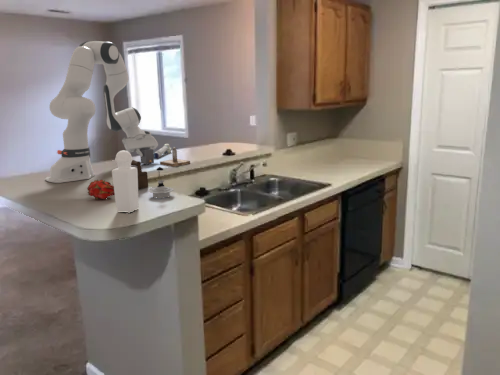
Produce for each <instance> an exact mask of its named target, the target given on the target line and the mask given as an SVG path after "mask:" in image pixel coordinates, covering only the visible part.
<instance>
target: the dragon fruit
mask: <svg viewBox="0 0 500 375" xmlns="http://www.w3.org/2000/svg"><path fill="white" fill-rule="evenodd" d="M87 195H88V196H90V197H94V198H95V200H98V199H101V200H105V199H106V198H108V200H111V199H112V197H114V196H115V192H114V185H112V184H111V182H110V181H106V180H103V179H100V180H98V179H94V180H93V181H91V182H90V183H89V185H88V187H87Z"/></svg>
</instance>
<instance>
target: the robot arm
mask: <svg viewBox="0 0 500 375" xmlns="http://www.w3.org/2000/svg"><path fill="white" fill-rule="evenodd" d="M95 64H96V65H103V68H104V72H105V76H106V80H105V81H106V82H105V85H103V99H104V106H105V107H104V108H105V117H106V125H107V127H108V130H110V131H113V132H115V133H117V132H120V131H123V132H124V133H125V134H126V137H123V138H122V139H121V143H122V144H123V146H124V148H125V151H128V152H129V153H134V152H135V153H136V154H137V155H139V156H141V157H143V156H144V153H143V152H141V151H140V149H146V148H149V149H153V150H156V149H157V148H158V147H159V142H158V141H157V140H156V138H155V136H153V135H152V132H151V131H147V130H143V129H141V128H140V127H139V125H140V122H141V119H142V116H141V114H140V112H139V110H138V109H136V108H135V107H128V108H124V109H123V110H120V111H119V110H118V111H117V112H116V110H115V102H114V99H115V96H117V94H118V93H119V92H120V91H122V90H123V89H124V88H125V87H126V86H127V84H128V82H129V74H128V70H127V67H126V63H125V61H124V59H123V56H122V55H121V53H120V50H119V48H118V46H117V45H116V43H114V42H111V41H101V40H100V41H99V40H94V41H93V40H92V41H84V42H82V43H80V44H79V45H78V46H77V47H76V48H74V50H73V52H72V55H71V57H70V60H69V65H68V67H67V73H66V76H65V80H64V83H63V85H62V87H61V88H60V90H59V92H58V94H57V95H56V96H55V97H54V98H53V99H52V100H50V102H49V103H50V104H49V111H50V113H51V114H52V115H53V116H54V117H56V118H58V119H62V120H67V124H66V125H67V126H66V128H65V129H64V130H63V133H62V139H63V149H62V150H60V149H58V150H56V154H58V155H60V156H61V157H60V158H59V159H58V160H57V161H55V162H54V164H52V165H51V167H50V171H49V176H46V177H45V181H46V182H49V183H53V184H54V183H56V184H60V183H61V184H62V183H68V182H73V181H75V182H77V181H82V180H89V179H92V178H93V177H95V173H94V169H93V167H92V164H91V163H92V162H91V150H90V149H91V148H90V147H89V138H88V131H89V130H88V129H89V125H90V122H91V119H92V118H93V117H94V116H95V113H96V105H95V103H94V101H93V100H92V99H90V98H88V97H86V96H85V97H84V96H83V95H84V94H85V93H86V92H87V91H88V90H89V89H90V87H91V82H92V78H93V75H94V68H95ZM154 153H155V152H153V154H154ZM141 157H140V158H141Z"/></svg>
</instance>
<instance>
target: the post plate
mask: <svg viewBox="0 0 500 375" xmlns="http://www.w3.org/2000/svg"><path fill="white" fill-rule="evenodd" d="M171 154H172V155H171V156H172V158H171V159H169V160H161V161H159V165H162V166H168V167H173V168H174V167H178V166H185V165H189V164H191V161H190V160H186V159H179V158H178V150H177V147H175V146H172V149H171Z"/></svg>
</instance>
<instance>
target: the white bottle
mask: <svg viewBox="0 0 500 375" xmlns="http://www.w3.org/2000/svg"><path fill="white" fill-rule="evenodd" d="M132 160H134V159H133V156H132V154H131V152H128V151H126V149H125V150H124V149H123V150H119V151H118V152H117V153H116V155H115V159H114V161H115V163H116V164H117V168H114V169H112V171H111V176H112V183H113V186H114V192H115V195H114V200H115V207H116V212H117V211H128V212H131V211H133V210H135V209H137V208H140V207H139V189H138V170H137V166H132V165H131V162H132Z"/></svg>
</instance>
